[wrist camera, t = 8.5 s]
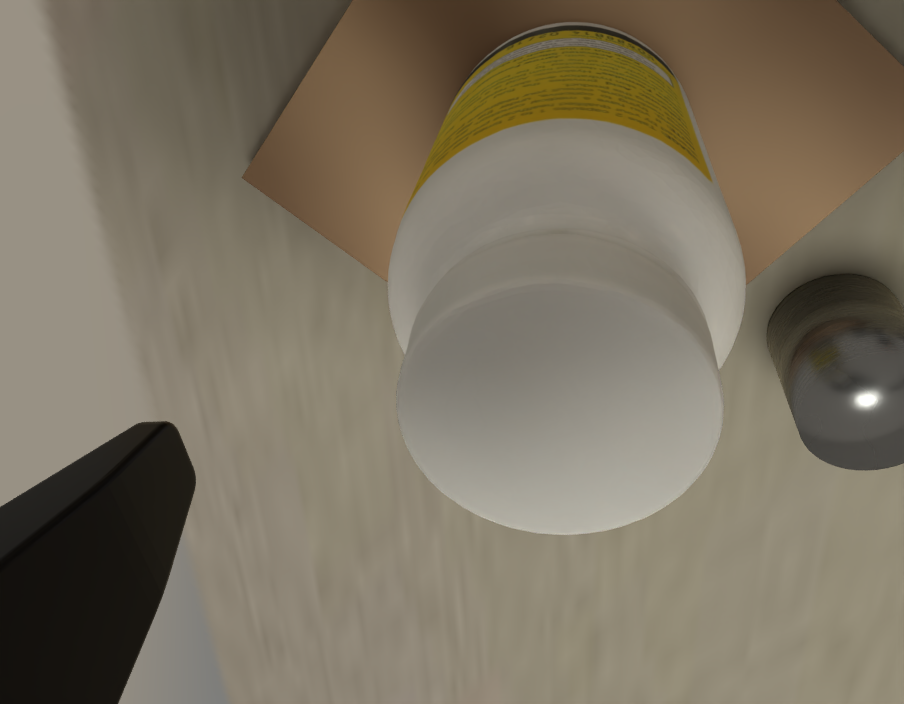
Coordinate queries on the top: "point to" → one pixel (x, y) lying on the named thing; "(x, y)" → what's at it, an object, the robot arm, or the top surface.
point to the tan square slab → (645, 18)
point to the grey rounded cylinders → (843, 369)
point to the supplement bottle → (565, 288)
